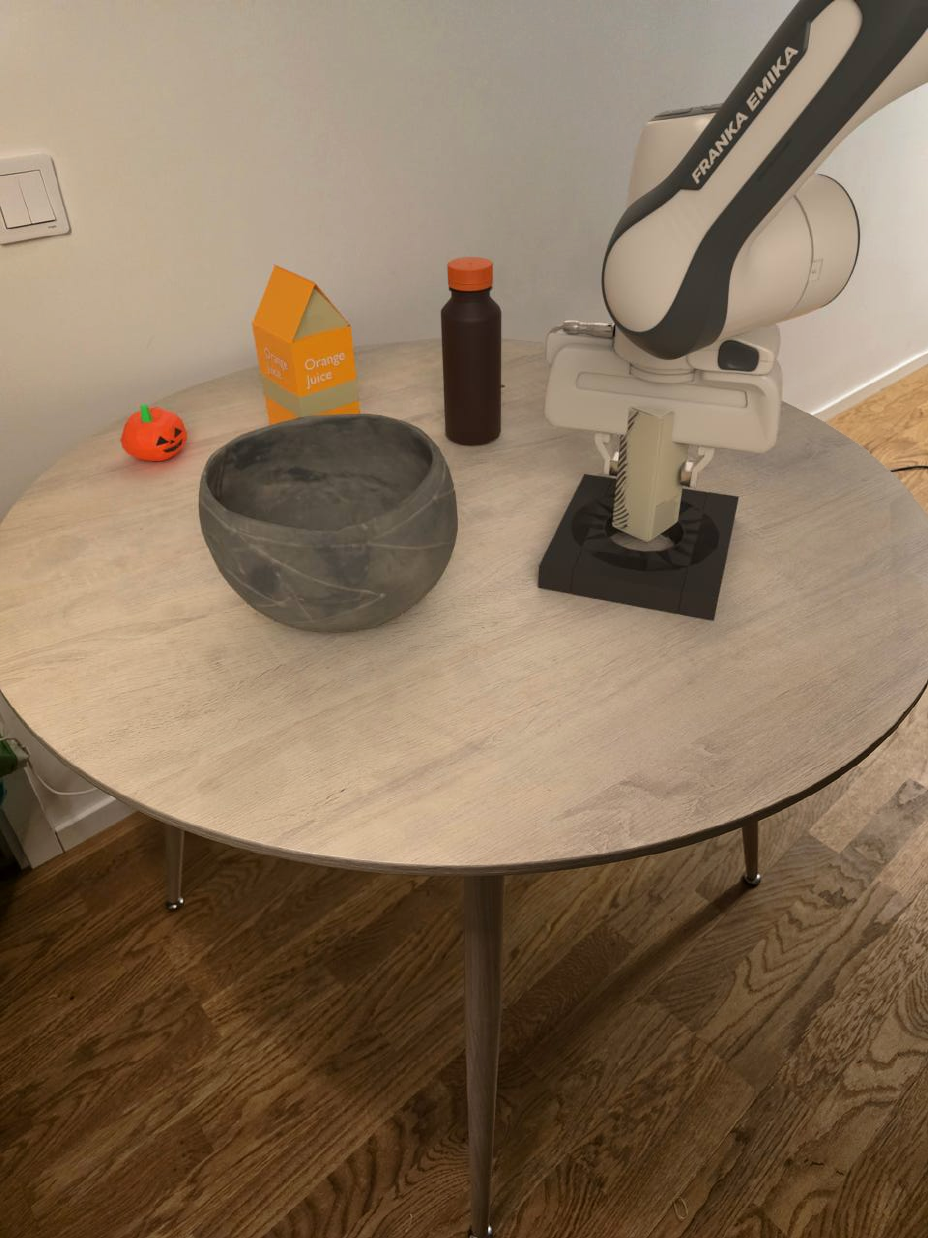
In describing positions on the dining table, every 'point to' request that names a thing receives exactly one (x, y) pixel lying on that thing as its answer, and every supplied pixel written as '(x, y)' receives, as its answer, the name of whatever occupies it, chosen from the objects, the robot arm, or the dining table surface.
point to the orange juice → (303, 351)
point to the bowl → (330, 519)
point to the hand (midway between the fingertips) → (650, 478)
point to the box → (648, 474)
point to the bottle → (471, 354)
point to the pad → (641, 553)
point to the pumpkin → (153, 434)
